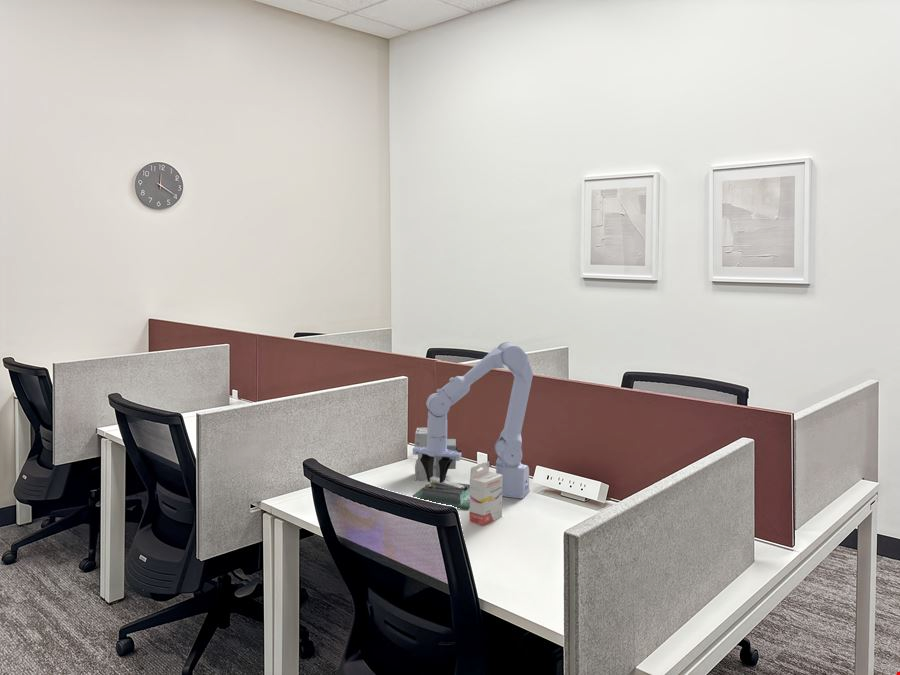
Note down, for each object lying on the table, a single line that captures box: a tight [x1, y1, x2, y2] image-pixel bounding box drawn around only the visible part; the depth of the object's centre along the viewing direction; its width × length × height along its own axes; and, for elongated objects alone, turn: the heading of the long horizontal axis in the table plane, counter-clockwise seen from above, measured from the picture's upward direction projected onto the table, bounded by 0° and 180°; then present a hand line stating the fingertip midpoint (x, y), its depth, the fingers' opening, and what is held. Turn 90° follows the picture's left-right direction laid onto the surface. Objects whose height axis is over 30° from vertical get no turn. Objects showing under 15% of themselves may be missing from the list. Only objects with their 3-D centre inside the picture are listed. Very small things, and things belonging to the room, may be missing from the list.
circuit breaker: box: [414, 427, 462, 482], centre depth 221 cm, size 8×14×15 cm, turn 89°
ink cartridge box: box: [469, 461, 503, 527], centre depth 185 cm, size 9×5×15 cm, turn 141°
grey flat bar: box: [430, 476, 466, 490], centre depth 201 cm, size 10×3×1 cm, turn 68°
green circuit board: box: [411, 481, 470, 511], centre depth 202 cm, size 18×13×4 cm
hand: (436, 481), depth 203 cm, fingers closed on grey flat bar, 3 cm apart
